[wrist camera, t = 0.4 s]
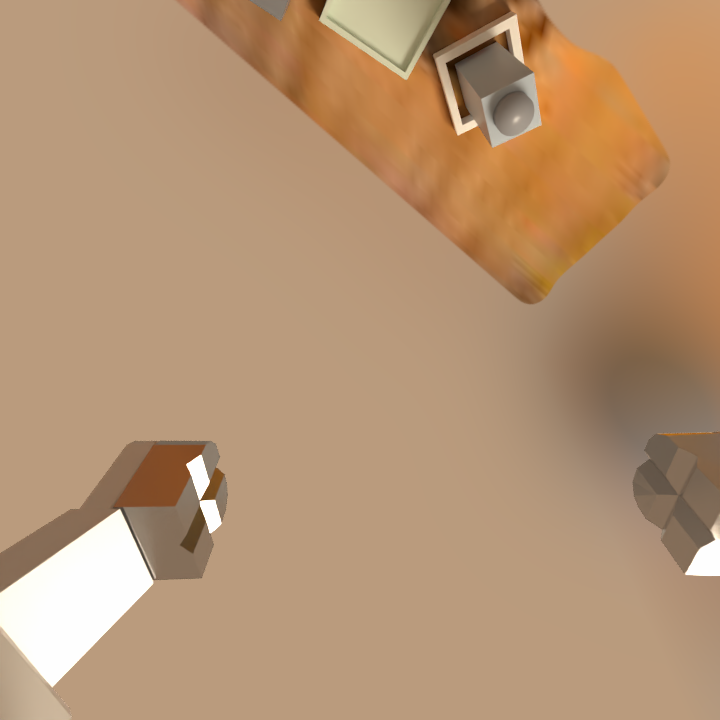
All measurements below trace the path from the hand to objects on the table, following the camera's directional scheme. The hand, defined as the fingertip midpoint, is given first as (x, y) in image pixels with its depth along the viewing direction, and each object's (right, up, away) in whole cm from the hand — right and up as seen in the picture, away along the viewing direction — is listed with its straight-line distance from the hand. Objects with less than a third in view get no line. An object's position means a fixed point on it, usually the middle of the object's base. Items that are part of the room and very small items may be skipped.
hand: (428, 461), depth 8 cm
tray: (+2, +37, +32) cm, 49 cm away
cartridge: (+11, +32, +37) cm, 50 cm away
